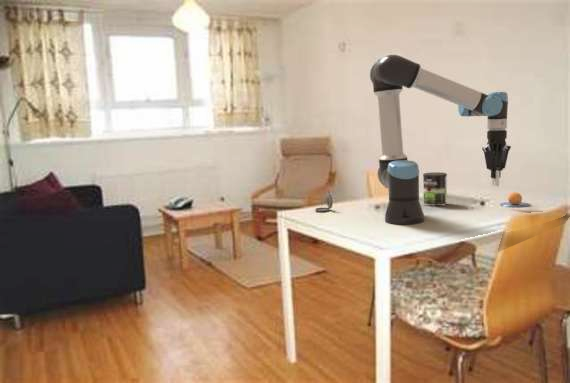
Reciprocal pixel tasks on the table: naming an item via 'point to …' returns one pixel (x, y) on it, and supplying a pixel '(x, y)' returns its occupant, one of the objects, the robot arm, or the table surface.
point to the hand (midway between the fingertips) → (495, 185)
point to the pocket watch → (329, 203)
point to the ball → (515, 198)
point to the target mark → (515, 205)
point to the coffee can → (435, 188)
